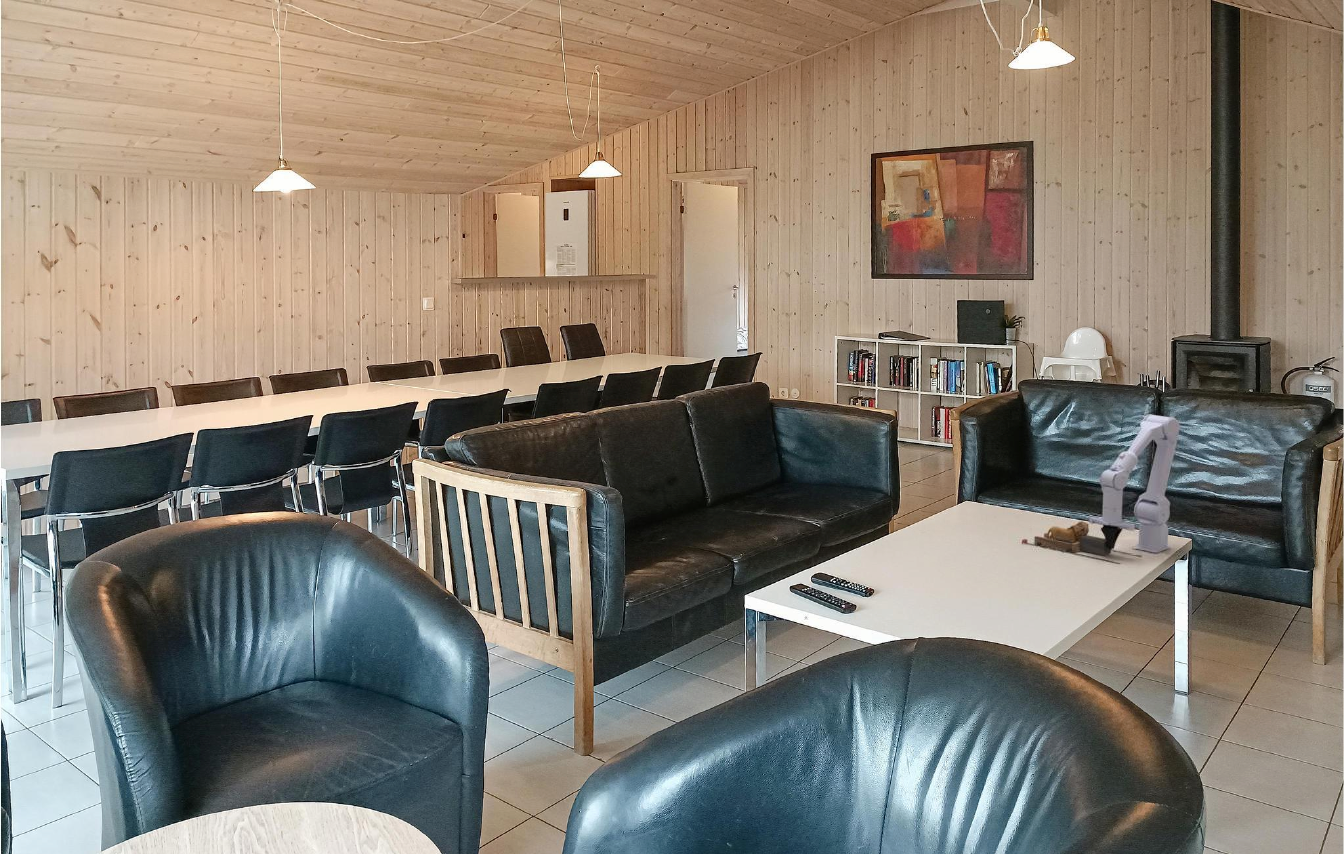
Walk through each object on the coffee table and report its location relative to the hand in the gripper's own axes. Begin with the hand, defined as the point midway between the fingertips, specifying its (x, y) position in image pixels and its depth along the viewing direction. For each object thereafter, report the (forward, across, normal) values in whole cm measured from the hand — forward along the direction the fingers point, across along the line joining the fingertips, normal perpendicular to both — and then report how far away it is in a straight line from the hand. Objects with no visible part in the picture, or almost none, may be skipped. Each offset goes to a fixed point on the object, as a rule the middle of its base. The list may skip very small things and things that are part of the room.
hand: (1110, 548), depth 340 cm
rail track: (+2, -11, 0) cm, 11 cm away
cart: (+2, -13, 0) cm, 13 cm away
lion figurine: (+3, -16, 0) cm, 16 cm away
